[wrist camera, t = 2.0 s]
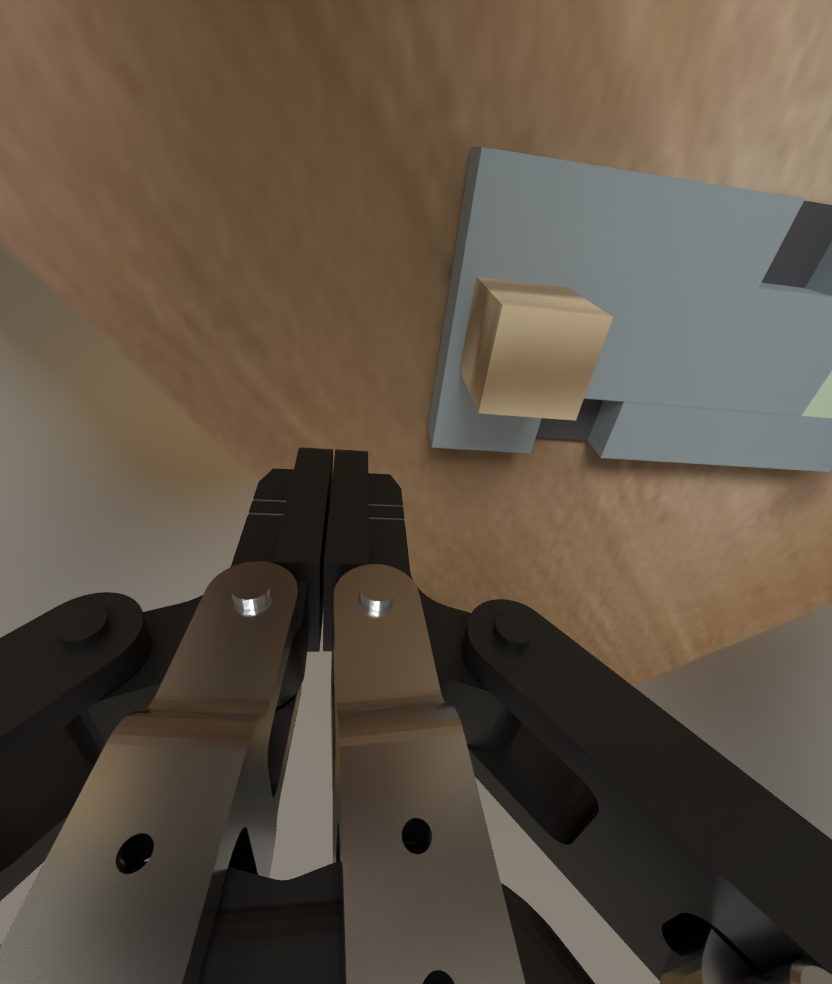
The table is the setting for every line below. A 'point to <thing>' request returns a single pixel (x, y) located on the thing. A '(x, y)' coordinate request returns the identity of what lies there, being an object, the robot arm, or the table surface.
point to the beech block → (531, 349)
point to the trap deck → (655, 312)
